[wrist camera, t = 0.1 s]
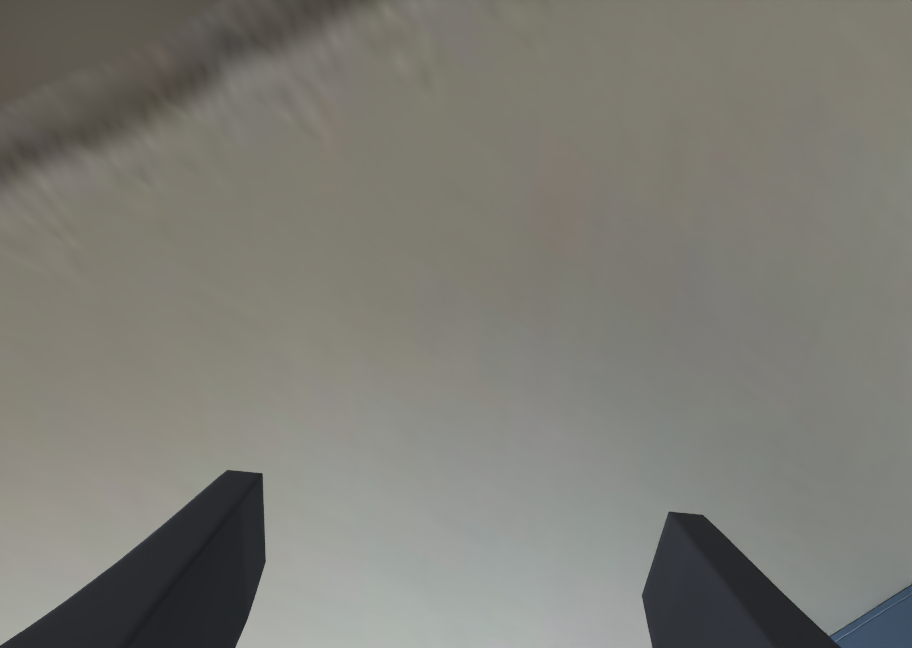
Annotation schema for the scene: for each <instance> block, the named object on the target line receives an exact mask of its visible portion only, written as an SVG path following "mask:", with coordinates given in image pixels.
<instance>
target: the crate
mask: <svg viewBox="0 0 912 648" xmlns="http://www.w3.org/2000/svg"><path fill="white" fill-rule="evenodd" d="M830 638H831V639H832V640H833V641H834V642H836V643H837V644H838V645H839V646H840V647H841V648H912V585H911V586H909V587H908V588H906V589H905V590H903V591H902V592H900V593H898V594H897V595H895V596H894V597H892V598H890V599H889V600H887V601H886V602H884V603H883V604H881V605H879V606H878V607H876V608H875V609H873V610H872V611H870V612H868V613H867V614H865V615H864V616H862V617H861V618H859V619H857V620H856V621H854V622H853V623H851V624H849V625H848V626H846V627H845V628H843V629H842V630H840V631H838V632H837V633H835V634H834V635H832V636H831V637H830Z"/></svg>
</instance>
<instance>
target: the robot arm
mask: <svg viewBox="0 0 912 648" xmlns="http://www.w3.org/2000/svg"><path fill="white" fill-rule="evenodd" d="M265 562H266V560H265V532H264V504H263V476H262V473H252V472H242V471H231V470H227V471H226V472H224V473H223V474H222V475H221V476H219V477H218V478H217V479H216V480H215V481H213V482H212V483H211V484H210V485H209V486H208V487H206V488H205V489H204V490H203V491H202V492H201V493H199V494H198V495H197V496H196V497H195V498H194V499H193V500H191V501H190V502H189V503H188V504H187V505H186V506H184V507H183V508H182V509H181V510H180V511H179V512H177V513H176V514H175V515H174V516H173V517H172V518H170V519H169V520H168V521H167V522H166V523H165V524H163V525H162V526H161V527H160V528H158V529H157V530H156V531H155V532H154V533H152V534H151V535H150V536H149V537H147V538H146V539H145V540H144V541H143V542H141V543H140V544H139V545H138V546H136V547H135V548H134V549H133V550H132V551H130V552H129V553H128V554H127V555H125V556H124V557H123V558H122V559H120V560H119V561H118V562H117V563H115V564H114V565H113V566H111V567H110V568H109V569H107V570H106V571H105V572H103V573H102V574H101V575H99V576H98V577H97V578H96V579H94V580H93V581H92V582H90V583H89V584H88V585H86V586H85V587H84V588H82V589H81V590H80V591H78V592H77V593H76V594H74V595H73V596H72V597H70V598H69V599H68V600H66V601H65V602H64V603H62V604H61V605H59V606H58V607H56V608H55V609H54V610H52V611H51V612H49V613H48V614H47V615H45V616H44V617H42V618H41V619H39V620H38V621H37V622H35V623H34V624H32V625H31V626H29V627H28V628H26V629H25V630H23V631H22V632H20V633H19V634H17V635H16V636H14V637H13V638H11V639H10V640H8V641H7V642H5V643H4V644H2V645H0V648H235V647H236V644H237V642H238V640H239V638H240V635H241V633H242V631H243V628H244V626H245V624H246V621H247V619H248V616H249V613H250V610H251V607H252V604H253V601H254V597H255V594H256V591H257V588H258V585H259V581H260V578H261V575H262V572H263V568H264V565H265ZM642 598H643V603H644V608H645V613H646V619H647V624H648V629H649V633H650V637H651V642H652V646H653V648H841V647H840V646H839V645H838V644H837V643H836V642H834V641H833V640H832V639H831V638H830V637H829V636H828V635H827V634H826V633H825V632H824V631H823V630H821V629H820V628H819V627H818V626H817V625H816V624H815V623H814V622H813V621H812V620H811V619H810V618H809V617H807V616H806V615H805V614H804V613H803V612H802V611H801V610H800V609H799V608H798V607H797V606H796V605H795V604H794V603H793V602H792V601H791V600H790V599H789V598H788V597H787V596H785V595H784V594H783V593H782V592H781V591H780V590H779V589H778V588H777V587H776V586H775V585H774V584H773V583H772V582H771V581H770V580H769V579H768V578H767V577H766V576H765V575H764V574H763V573H762V572H761V571H760V570H759V569H758V568H757V567H756V566H755V565H754V564H753V563H752V562H751V561H750V560H749V559H748V558H747V557H746V556H745V555H744V554H743V553H742V552H741V551H740V550H739V549H738V548H737V547H736V546H735V545H734V544H733V543H732V542H731V541H730V540H729V539H728V538H727V537H726V536H725V535H724V534H722V533H721V532H720V531H719V530H718V529H717V528H716V527H715V526H714V525H713V524H712V523H711V522H710V521H709V520H708V519H707V518H706V517H704V516H703V515H698V514H688V513H677V512H669V513H668V516H667V519H666V522H665V525H664V528H663V532H662V535H661V538H660V541H659V544H658V547H657V550H656V553H655V556H654V560H653V563H652V566H651V569H650V572H649V575H648V578H647V581H646V584H645V588H644V591H643V594H642Z"/></svg>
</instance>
